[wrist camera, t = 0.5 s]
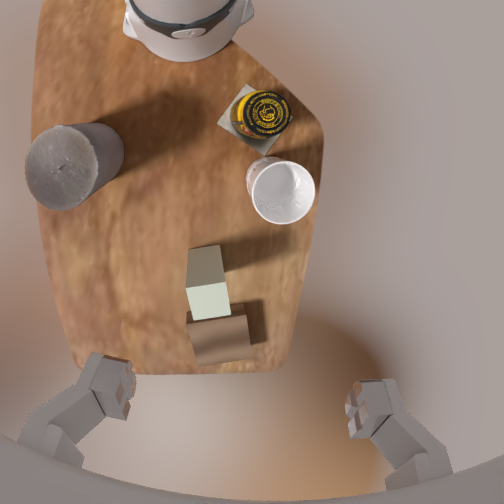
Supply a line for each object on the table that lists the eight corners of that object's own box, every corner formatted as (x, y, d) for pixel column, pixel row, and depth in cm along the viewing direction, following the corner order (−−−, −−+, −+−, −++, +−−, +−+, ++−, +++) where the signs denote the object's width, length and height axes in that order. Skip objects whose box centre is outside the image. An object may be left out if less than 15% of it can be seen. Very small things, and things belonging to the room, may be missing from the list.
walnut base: (186, 310, 54) (186, 324, 50) (243, 301, 55) (246, 314, 51) (198, 352, 58) (198, 366, 55) (249, 344, 59) (252, 357, 56)
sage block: (188, 249, 49) (185, 288, 38) (219, 244, 50) (225, 282, 39) (193, 277, 51) (193, 320, 40) (223, 272, 52) (231, 314, 41)
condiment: (246, 83, 40) (261, 71, 29) (292, 117, 43) (321, 117, 32) (216, 123, 42) (221, 124, 31) (264, 155, 45) (284, 168, 34)
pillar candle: (71, 189, 42) (26, 221, 28) (63, 128, 38) (13, 136, 24) (128, 181, 43) (100, 209, 30) (122, 116, 39) (89, 117, 26)
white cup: (296, 196, 48) (319, 216, 39) (247, 208, 48) (259, 231, 39) (288, 147, 45) (310, 155, 36) (236, 158, 45) (245, 169, 36)
